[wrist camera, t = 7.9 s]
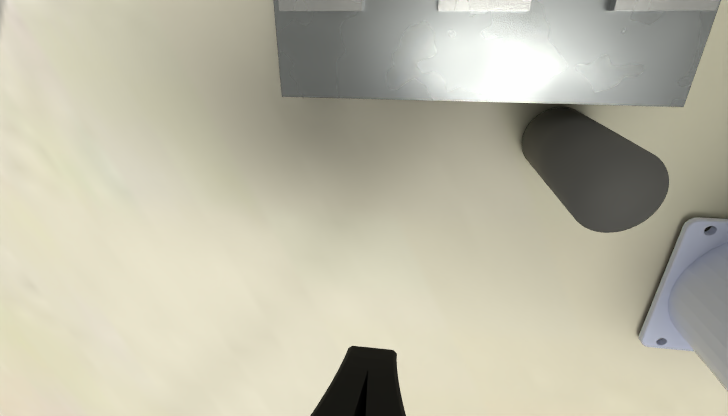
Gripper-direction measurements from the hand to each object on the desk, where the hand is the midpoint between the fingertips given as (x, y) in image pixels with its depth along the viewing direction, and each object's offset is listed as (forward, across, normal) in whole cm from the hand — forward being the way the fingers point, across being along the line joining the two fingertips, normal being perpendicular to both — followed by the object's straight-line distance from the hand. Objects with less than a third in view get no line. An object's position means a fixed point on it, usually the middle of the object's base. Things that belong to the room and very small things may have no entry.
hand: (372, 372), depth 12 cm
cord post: (+10, -7, -4) cm, 13 cm away
